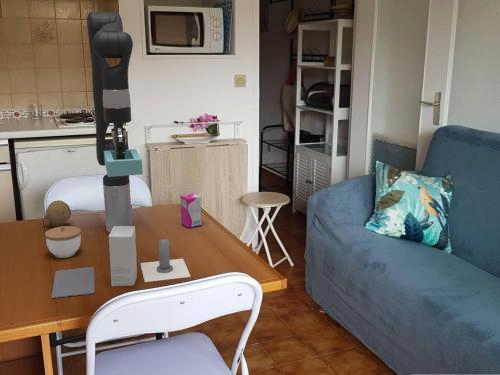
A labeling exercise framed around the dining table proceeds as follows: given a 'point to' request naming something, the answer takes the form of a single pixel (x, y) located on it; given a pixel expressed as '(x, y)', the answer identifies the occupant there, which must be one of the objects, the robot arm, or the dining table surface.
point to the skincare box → (123, 255)
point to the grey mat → (73, 282)
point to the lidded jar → (63, 241)
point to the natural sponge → (57, 213)
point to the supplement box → (191, 210)
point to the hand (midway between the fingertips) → (120, 165)
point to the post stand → (164, 266)
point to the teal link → (123, 163)
